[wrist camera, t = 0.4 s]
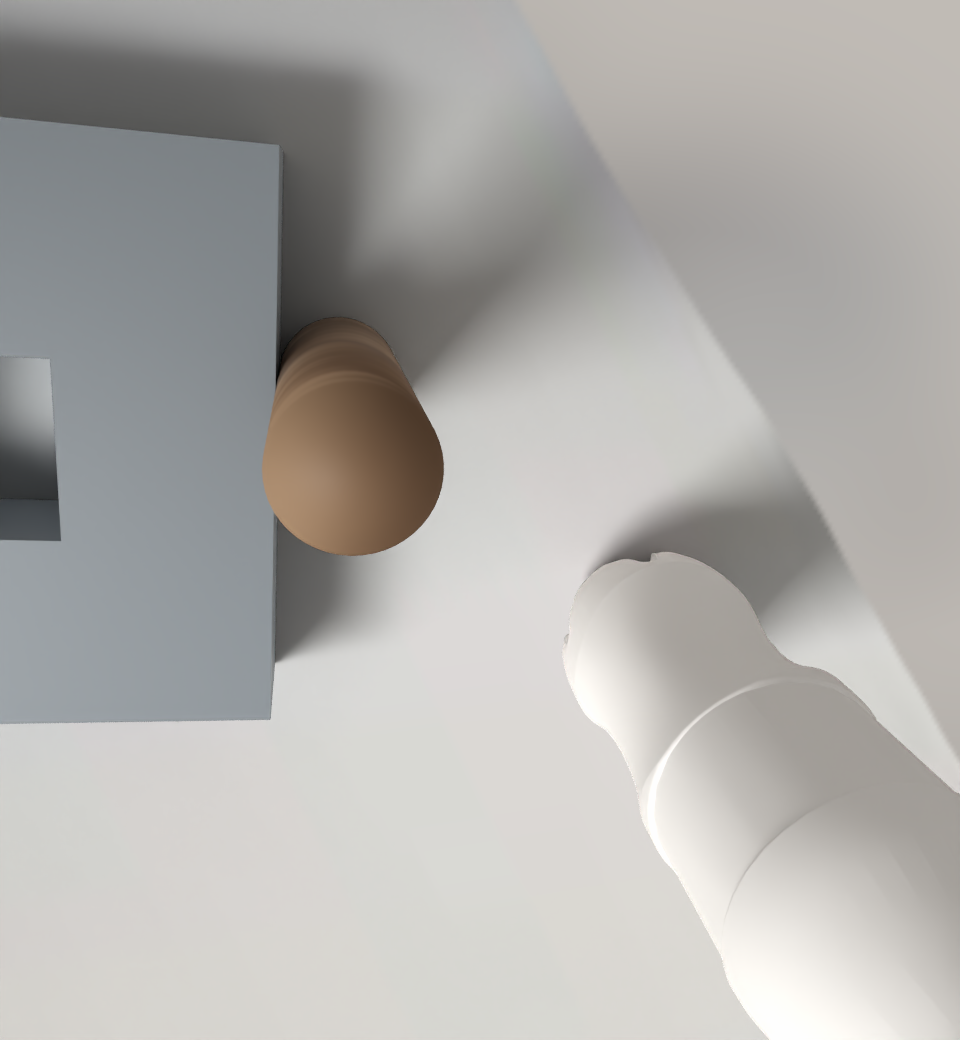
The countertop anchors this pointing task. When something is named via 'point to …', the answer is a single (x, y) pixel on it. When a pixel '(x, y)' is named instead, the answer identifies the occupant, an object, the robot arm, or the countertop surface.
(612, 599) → the water bottle
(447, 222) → the countertop surface
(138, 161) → the socket board
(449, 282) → the countertop surface
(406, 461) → the peg
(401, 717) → the countertop surface
